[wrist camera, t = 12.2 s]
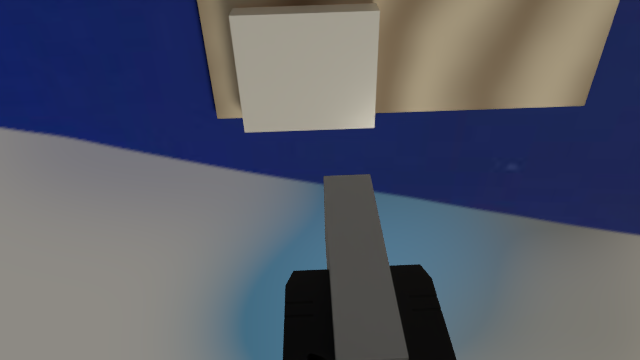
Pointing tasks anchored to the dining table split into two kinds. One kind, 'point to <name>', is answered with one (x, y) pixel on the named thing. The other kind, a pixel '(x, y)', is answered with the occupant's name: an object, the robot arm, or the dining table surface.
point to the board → (452, 52)
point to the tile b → (306, 66)
